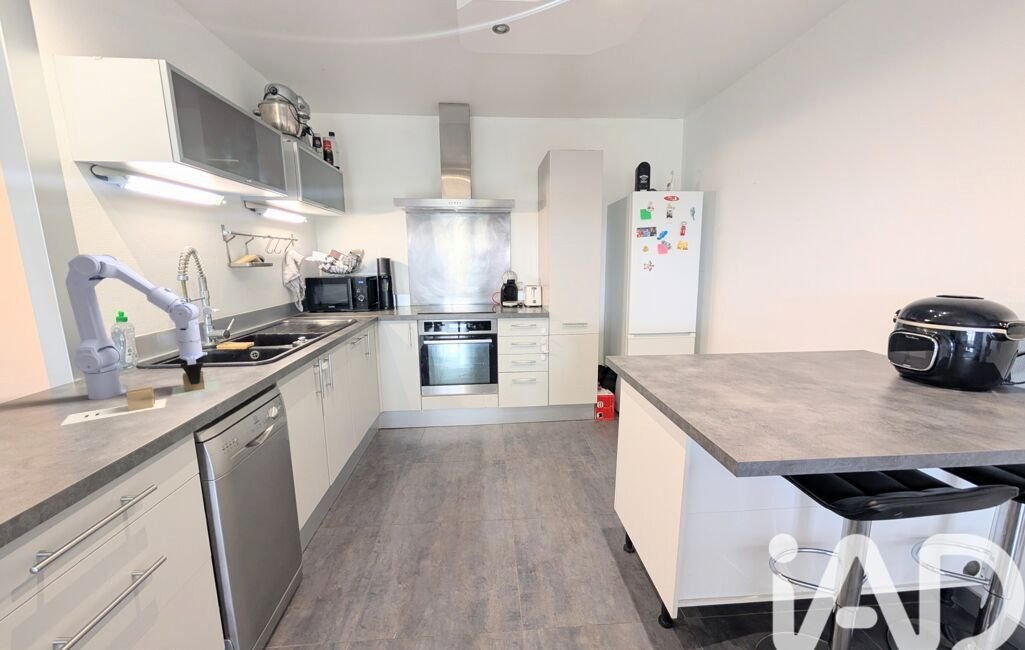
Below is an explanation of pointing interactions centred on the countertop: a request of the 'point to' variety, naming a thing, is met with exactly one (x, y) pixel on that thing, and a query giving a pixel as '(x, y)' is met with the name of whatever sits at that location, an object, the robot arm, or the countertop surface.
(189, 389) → the walnut block
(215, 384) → the sage pad
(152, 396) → the oak block
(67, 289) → the robot arm
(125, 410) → the board
